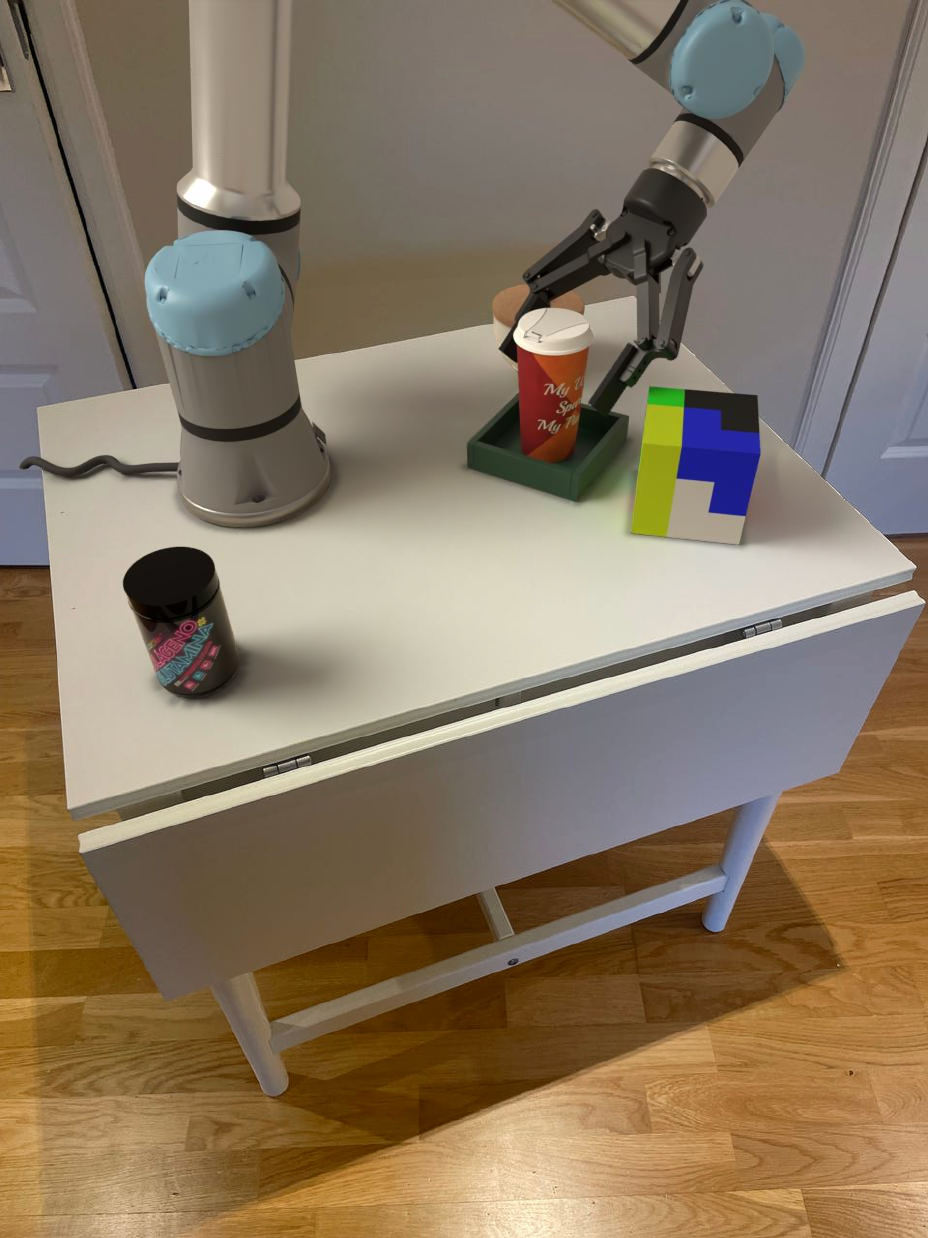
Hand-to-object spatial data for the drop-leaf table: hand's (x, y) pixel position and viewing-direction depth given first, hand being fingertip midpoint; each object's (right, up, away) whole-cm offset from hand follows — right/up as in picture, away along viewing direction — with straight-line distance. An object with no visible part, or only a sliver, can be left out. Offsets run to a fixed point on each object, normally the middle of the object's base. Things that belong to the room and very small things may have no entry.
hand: (550, 382), depth 90 cm
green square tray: (0, -6, +6) cm, 9 cm away
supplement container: (-30, -28, -16) cm, 44 cm away
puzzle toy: (+13, -13, -1) cm, 18 cm away
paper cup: (0, -6, +6) cm, 8 cm away
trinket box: (0, +7, +20) cm, 22 cm away
